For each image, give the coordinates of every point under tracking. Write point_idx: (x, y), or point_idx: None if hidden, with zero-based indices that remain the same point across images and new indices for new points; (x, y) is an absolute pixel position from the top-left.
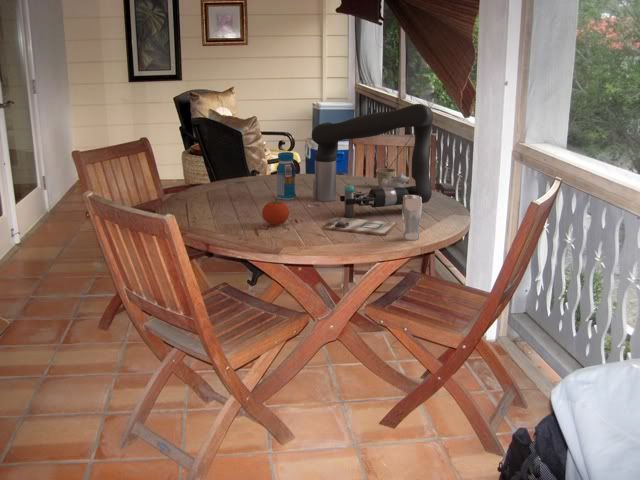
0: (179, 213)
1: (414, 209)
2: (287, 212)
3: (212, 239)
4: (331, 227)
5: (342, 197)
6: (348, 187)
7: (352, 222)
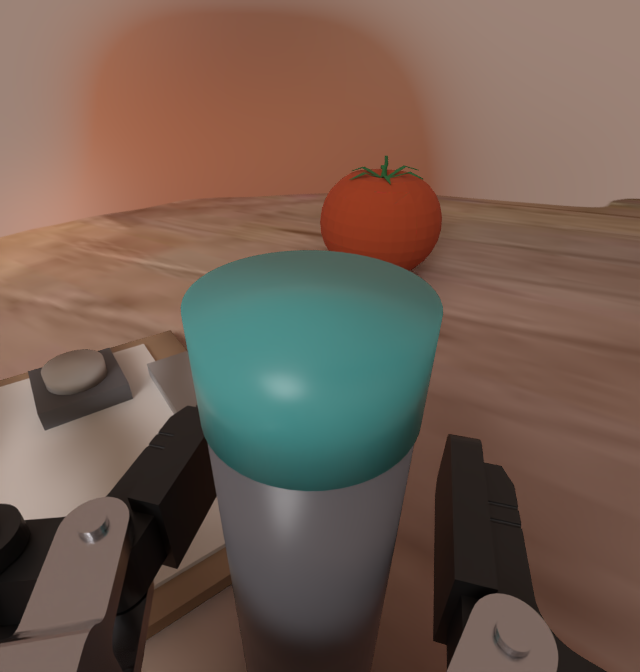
0: (615, 209)
1: None
2: (331, 222)
3: (320, 197)
4: (127, 348)
5: (445, 466)
6: (239, 262)
7: (65, 497)
